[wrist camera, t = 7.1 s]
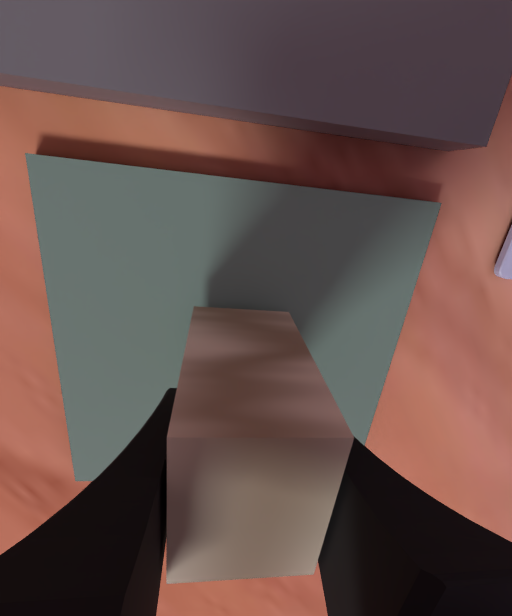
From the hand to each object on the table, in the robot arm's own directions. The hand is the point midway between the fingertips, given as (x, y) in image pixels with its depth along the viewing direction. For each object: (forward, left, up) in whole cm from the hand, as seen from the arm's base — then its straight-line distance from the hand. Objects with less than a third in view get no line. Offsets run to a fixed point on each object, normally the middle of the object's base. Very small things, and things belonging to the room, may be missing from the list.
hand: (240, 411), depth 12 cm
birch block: (0, 0, -3) cm, 3 cm away
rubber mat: (0, 0, -4) cm, 4 cm away
